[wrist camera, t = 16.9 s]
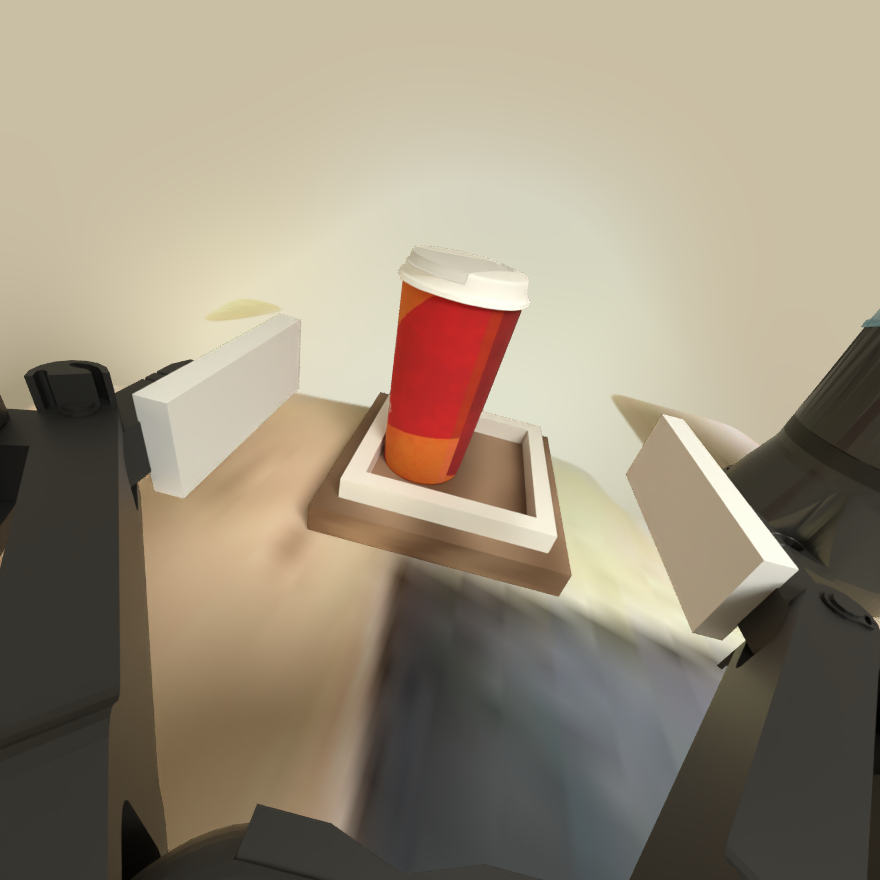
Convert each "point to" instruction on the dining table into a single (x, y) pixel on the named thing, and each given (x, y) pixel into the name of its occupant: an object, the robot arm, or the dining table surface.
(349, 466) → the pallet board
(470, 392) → the paper cup
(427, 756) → the dining table surface
